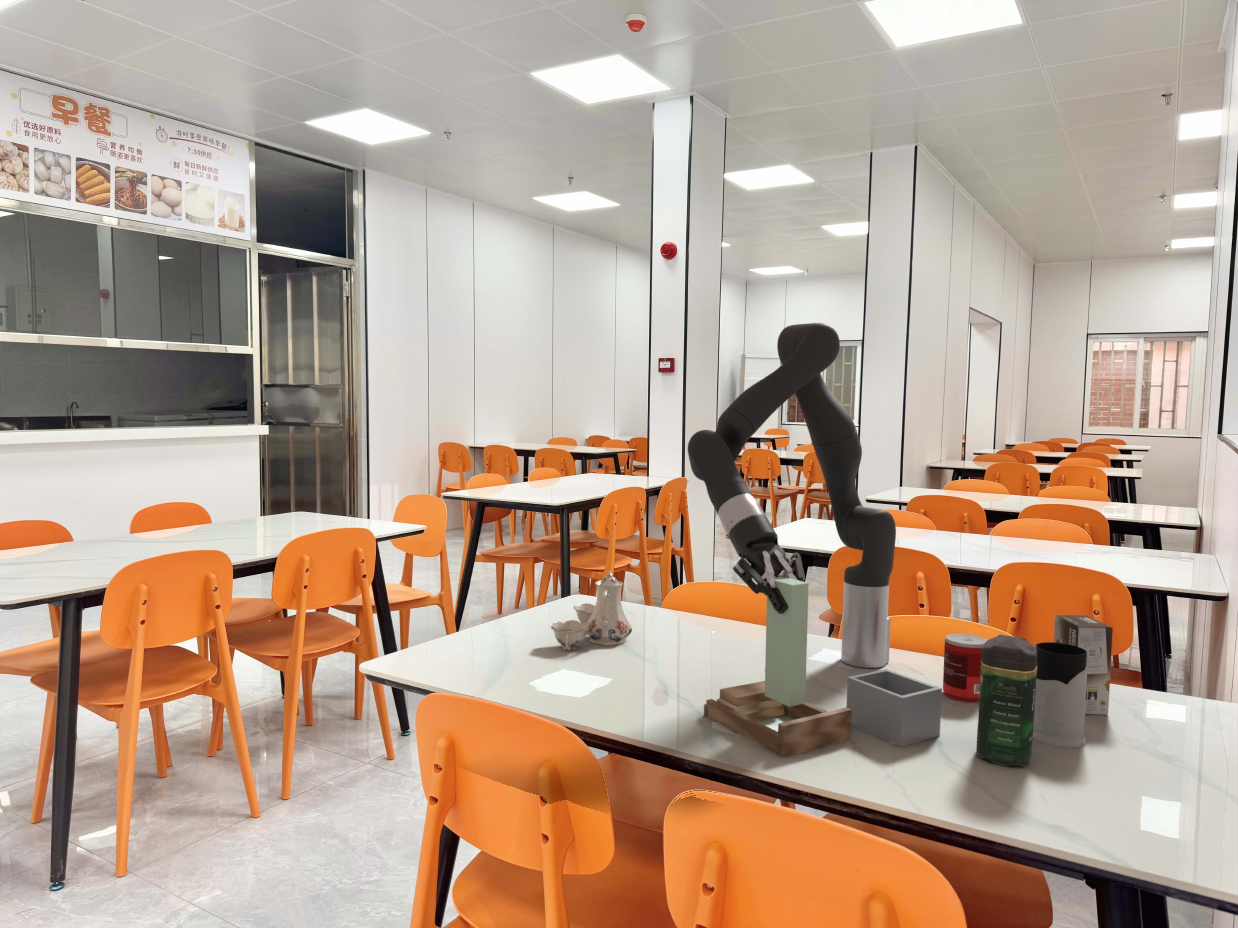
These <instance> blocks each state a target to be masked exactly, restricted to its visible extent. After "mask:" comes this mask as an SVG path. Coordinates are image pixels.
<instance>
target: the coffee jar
mask: <svg viewBox="0 0 1238 928" xmlns="http://www.w3.org/2000/svg"><path fill="white" fill-rule="evenodd" d="M981 659H982V660H981V676H980V695H979V701H978V715H977V716H978V717H977V719H978V720H977V729H976V730H977V731H976V752H977V754H978V756H979V757H980V758H983V759H985V760H988V761H990V762H993V763H994V764H997V765H1000V766H1020V767H1023V766H1026V765H1028V764H1029V762H1030V761H1031V759H1032V755H1033V741H1034V739H1033V726H1034V714H1035V700H1036V680H1037V649H1036V645H1033V643H1031V642H1030V641H1028V639H1026V638H1024V637H1019V636H1014V635H1013V636H1012V635H1006V634H998V635H997V636H994V637H991V638H989V639H987V641H986V642H985V644H984V645H983V648H982V658H981Z"/></svg>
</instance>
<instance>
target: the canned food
mask: <svg viewBox="0 0 1238 928" xmlns="http://www.w3.org/2000/svg"><path fill="white" fill-rule="evenodd" d="M987 640H988V639H987V638H985V637H983V636H980V635H976V634H971V633H950V634H949V633H948V634H946V635H945V638H944V646H943V647H944V651H943V675H942V692H943V693H944V695H945V696H947V697H948V698H949V699H953V700H956V701H958V702H959V701H960V702H966V703H975V702H976V703H977V702H978V703H979V695H980V676H981V660H982V659H981V658H982V648H983V645H984V644H985V642H986V641H987Z"/></svg>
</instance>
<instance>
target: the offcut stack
mask: <svg viewBox="0 0 1238 928" xmlns="http://www.w3.org/2000/svg"><path fill="white" fill-rule="evenodd" d="M716 701H717V702H719V703H721V704H723V705H725V706H727V707H729V708H731V709H733V710H735V711H737V712H739V713H741V714H743V715H745V716H747V717H749V718H751V719H753V720H755V721H757V722H759V721H762V720H767V719H770V718H771V719H772V718H775V717H779V716H783V715H785V713H784V705H782V703H780V702H778V701H775V700H773V699H771V698H769V697H767V696H765V680H763V681H757V682H751V683H747V684H741V685H736V686H735V685H734V686H730V687H725V688H720V689H719V698H717V699H716Z"/></svg>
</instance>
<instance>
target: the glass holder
mask: <svg viewBox="0 0 1238 928" xmlns="http://www.w3.org/2000/svg"><path fill="white" fill-rule="evenodd" d="M1035 648H1036V649H1037V680H1036V700H1035V714H1034V726H1033V740H1035V741H1037V742H1039V743H1043V744H1045V745H1049V746H1054V747H1058V748H1059V747H1060V748H1065V749H1067V748H1068V749H1074V748H1075V749H1076V748H1077V749H1078V748H1082V747H1085V746H1087V738H1086V737H1085V720H1086V719H1085V718H1086V714H1085V703H1086V685H1087V667H1086V663H1087V651H1086V650H1085V649H1083V648H1080V647H1077V646H1073V645H1069V644H1063V643H1054V641H1053V642H1051V641H1050V642H1046V641H1045V642H1038V643H1036V644H1035Z"/></svg>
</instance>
